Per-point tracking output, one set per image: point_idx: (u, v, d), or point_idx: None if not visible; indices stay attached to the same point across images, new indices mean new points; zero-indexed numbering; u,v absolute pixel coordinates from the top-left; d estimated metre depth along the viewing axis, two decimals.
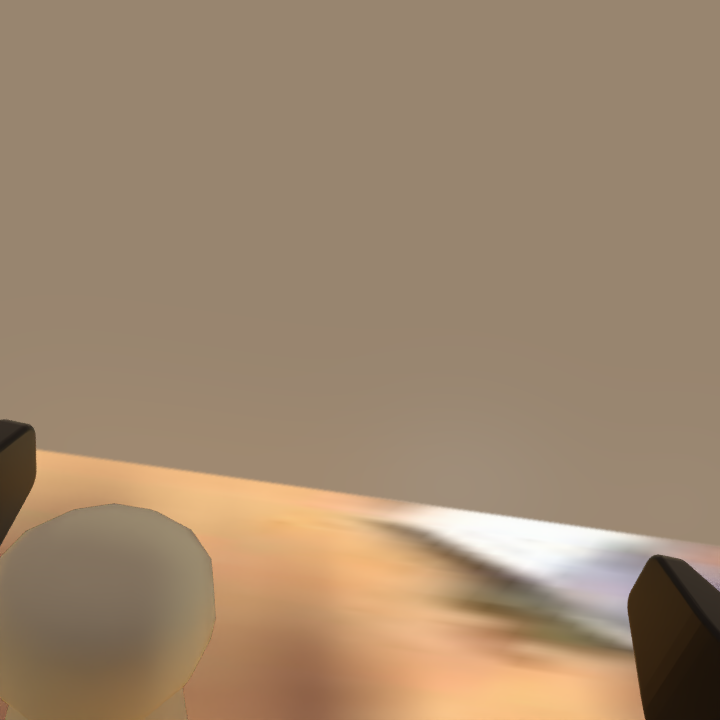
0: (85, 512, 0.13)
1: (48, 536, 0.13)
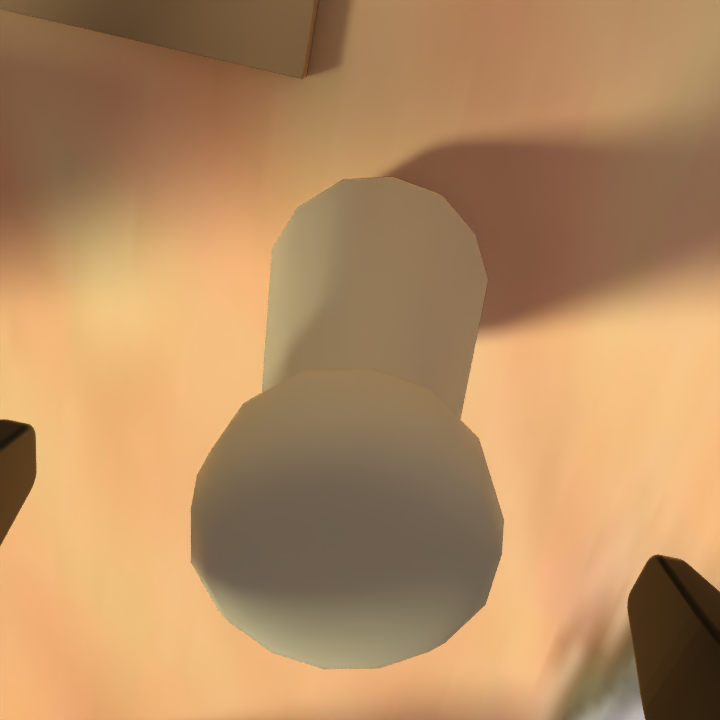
0: (446, 548, 0.08)
1: (385, 514, 0.08)
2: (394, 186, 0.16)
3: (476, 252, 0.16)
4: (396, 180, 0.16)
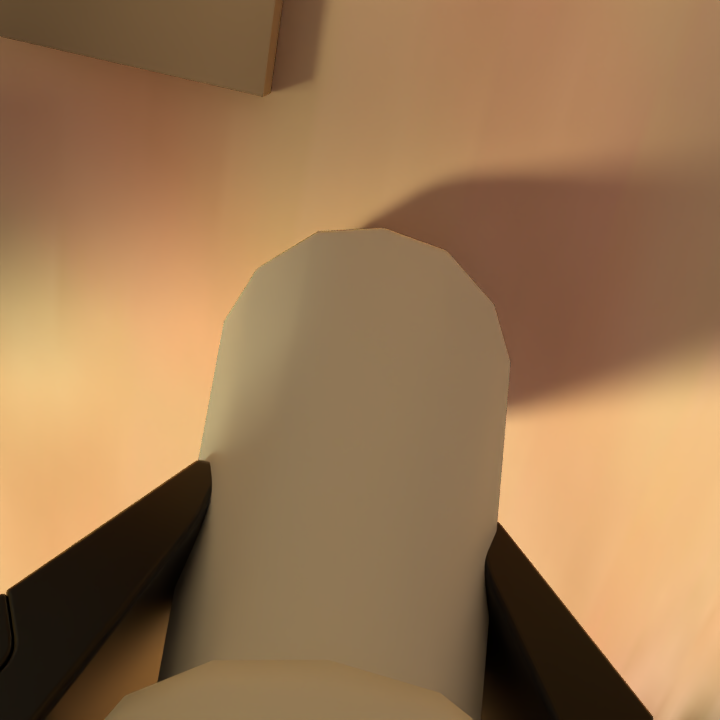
0: None
1: None
2: (385, 245, 0.12)
3: (496, 330, 0.12)
4: (388, 235, 0.12)
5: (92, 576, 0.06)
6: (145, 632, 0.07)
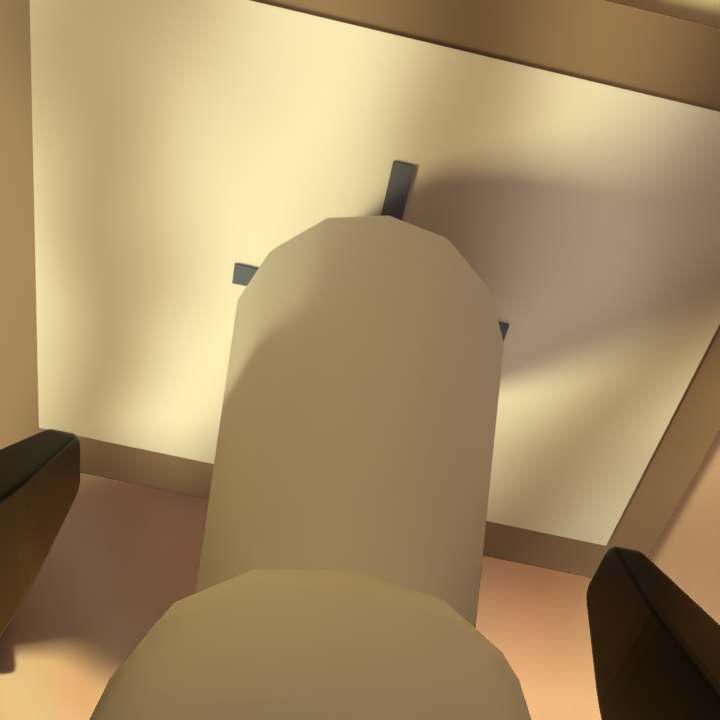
0: None
1: None
2: (391, 231, 0.12)
3: (491, 313, 0.13)
4: (393, 222, 0.13)
5: None
6: None
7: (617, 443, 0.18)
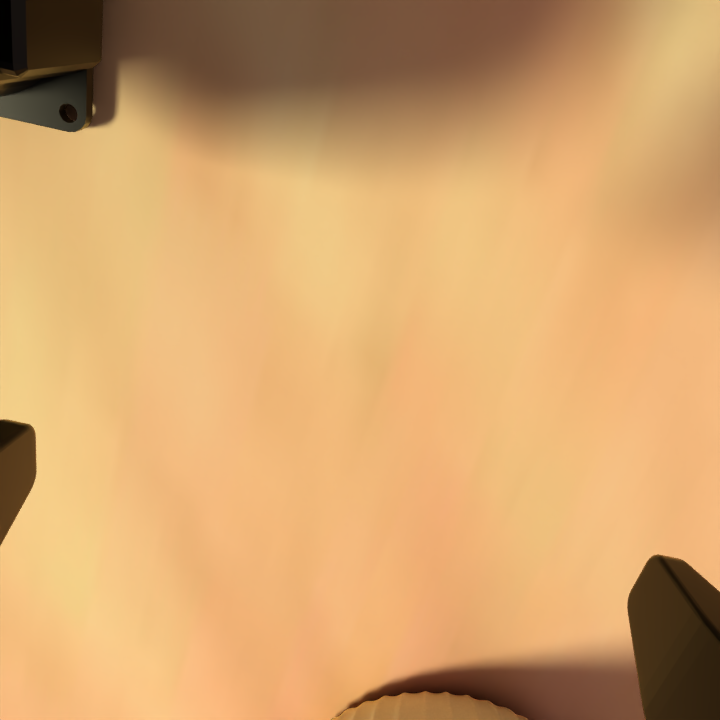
0: None
1: None
2: None
3: None
4: None
5: None
6: None
7: None
